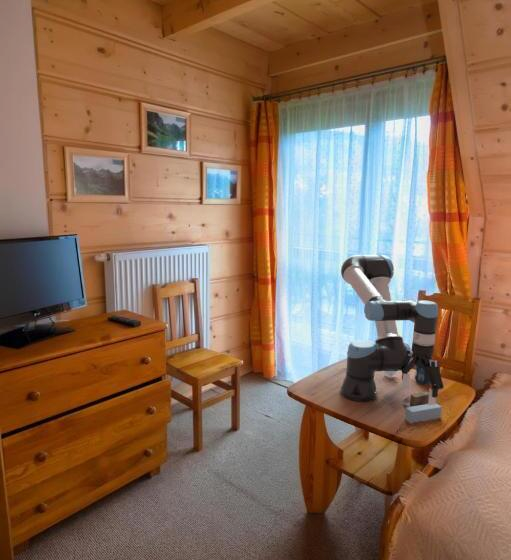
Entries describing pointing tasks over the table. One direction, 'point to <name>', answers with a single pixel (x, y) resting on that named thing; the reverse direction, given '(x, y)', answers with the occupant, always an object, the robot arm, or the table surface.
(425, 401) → the ridge stand
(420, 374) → the soda can
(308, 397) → the table surface
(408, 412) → the bar
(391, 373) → the cup
